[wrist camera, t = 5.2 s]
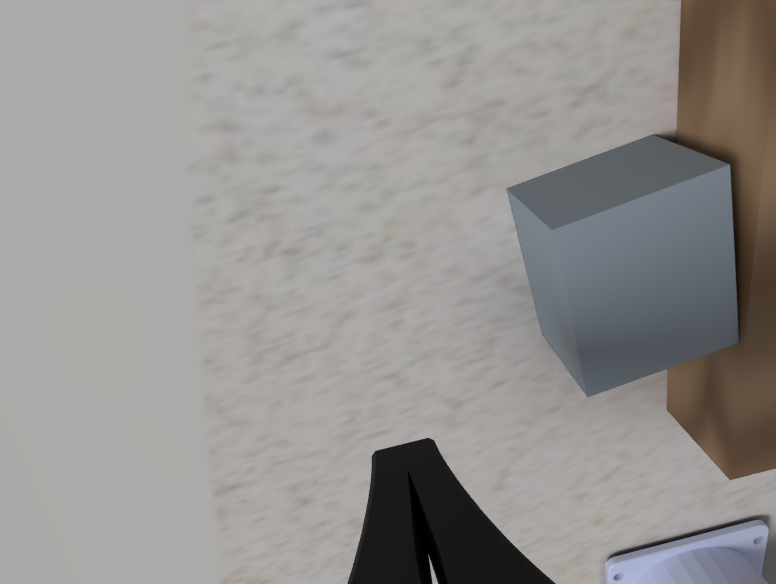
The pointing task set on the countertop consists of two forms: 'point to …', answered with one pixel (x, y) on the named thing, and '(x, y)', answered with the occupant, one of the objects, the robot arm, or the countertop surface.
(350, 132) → the countertop surface
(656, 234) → the slate block
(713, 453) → the walnut board
